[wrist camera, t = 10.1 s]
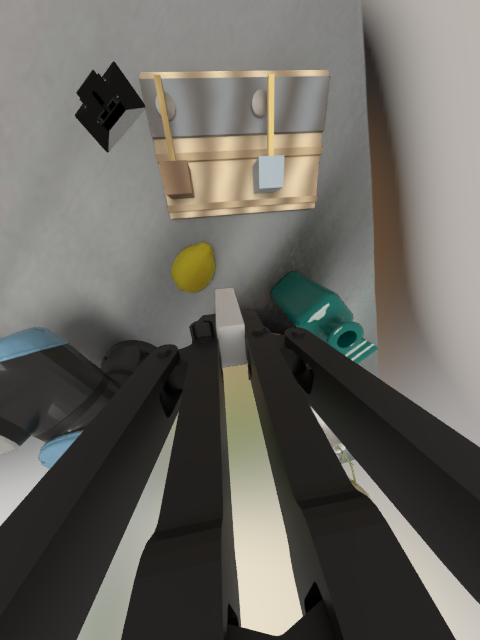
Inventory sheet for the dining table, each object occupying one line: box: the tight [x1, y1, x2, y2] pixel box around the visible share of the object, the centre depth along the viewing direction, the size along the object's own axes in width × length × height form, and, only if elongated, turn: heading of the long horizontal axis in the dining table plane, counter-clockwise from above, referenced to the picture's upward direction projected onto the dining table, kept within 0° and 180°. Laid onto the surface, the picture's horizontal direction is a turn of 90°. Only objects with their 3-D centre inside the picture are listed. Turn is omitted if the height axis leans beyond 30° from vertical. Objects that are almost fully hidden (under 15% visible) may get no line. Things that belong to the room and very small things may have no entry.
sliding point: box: [253, 74, 284, 194], centre depth 29 cm, size 4×12×5 cm, turn 4°
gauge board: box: [139, 70, 330, 219], centre depth 29 cm, size 28×18×6 cm, turn 94°
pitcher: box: [271, 272, 378, 364], centre depth 35 cm, size 10×8×22 cm
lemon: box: [171, 242, 215, 292], centre depth 36 cm, size 11×8×8 cm
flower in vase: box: [310, 406, 369, 497], centre depth 57 cm, size 13×11×25 cm
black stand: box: [75, 62, 146, 152], centre depth 26 cm, size 12×7×5 cm, turn 128°
